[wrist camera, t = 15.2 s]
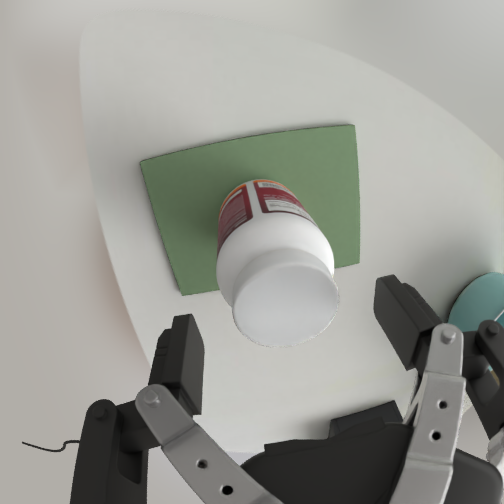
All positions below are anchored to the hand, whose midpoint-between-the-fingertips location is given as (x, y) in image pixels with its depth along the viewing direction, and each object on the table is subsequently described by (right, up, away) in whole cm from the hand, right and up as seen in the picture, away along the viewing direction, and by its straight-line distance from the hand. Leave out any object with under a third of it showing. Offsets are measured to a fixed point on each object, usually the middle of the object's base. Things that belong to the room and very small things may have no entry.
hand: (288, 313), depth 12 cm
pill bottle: (-1, +5, +10) cm, 11 cm away
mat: (-1, +6, +10) cm, 12 cm away
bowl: (+29, -4, +18) cm, 34 cm away
